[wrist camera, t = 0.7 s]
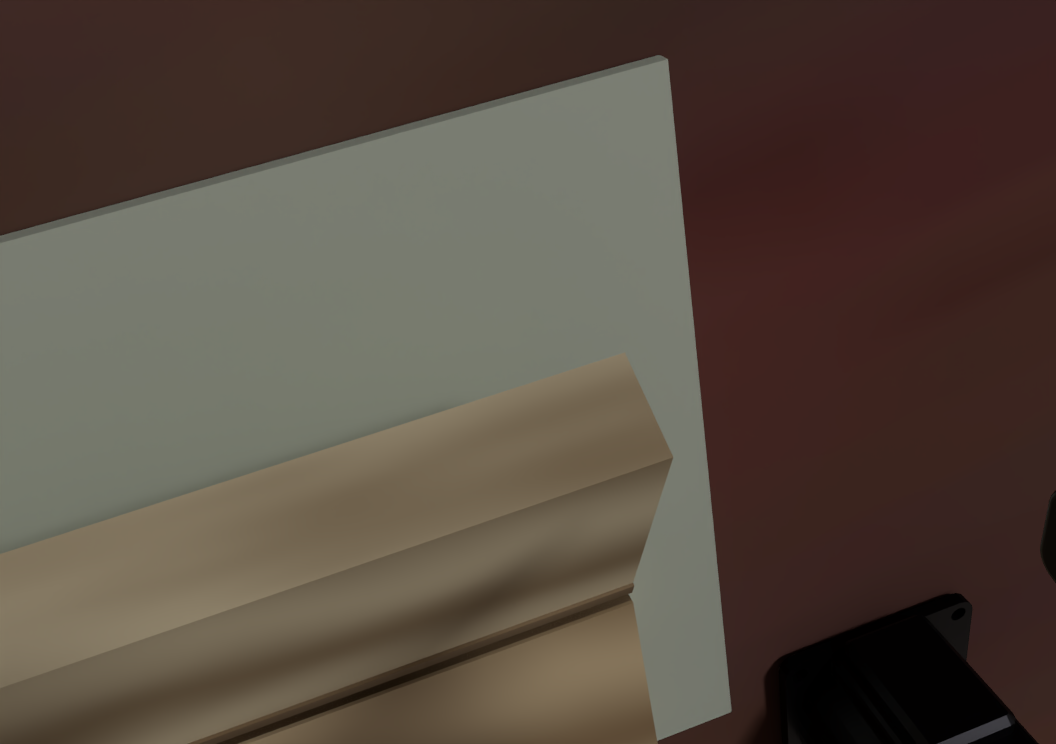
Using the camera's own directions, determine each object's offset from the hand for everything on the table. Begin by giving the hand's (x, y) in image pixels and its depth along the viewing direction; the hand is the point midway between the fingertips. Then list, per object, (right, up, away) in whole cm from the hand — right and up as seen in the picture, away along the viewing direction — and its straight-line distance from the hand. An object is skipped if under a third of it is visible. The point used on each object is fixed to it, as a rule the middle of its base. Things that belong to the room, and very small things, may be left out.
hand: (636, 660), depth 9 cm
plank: (-11, -2, +9) cm, 14 cm away
